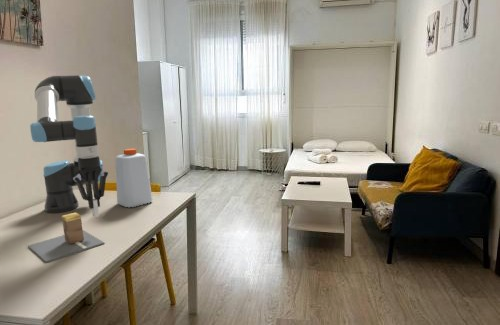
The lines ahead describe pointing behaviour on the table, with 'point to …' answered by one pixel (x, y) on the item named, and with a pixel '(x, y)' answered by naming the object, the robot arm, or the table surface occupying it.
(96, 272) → the table surface
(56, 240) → the mat
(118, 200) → the plastic bottle
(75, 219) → the block
